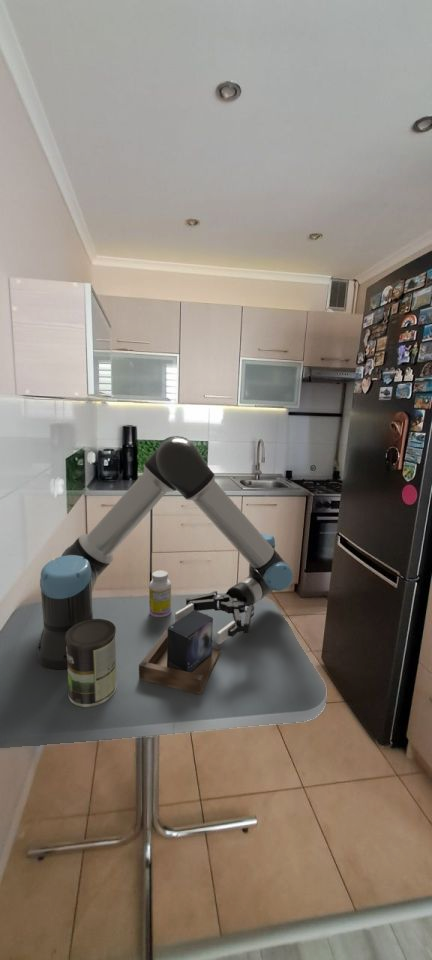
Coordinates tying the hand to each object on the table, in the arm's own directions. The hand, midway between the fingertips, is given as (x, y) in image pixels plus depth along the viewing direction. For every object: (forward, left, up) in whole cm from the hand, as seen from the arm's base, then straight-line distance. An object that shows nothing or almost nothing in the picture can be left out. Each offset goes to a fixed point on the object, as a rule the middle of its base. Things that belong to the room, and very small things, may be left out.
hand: (195, 628), depth 90 cm
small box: (-1, -1, -8) cm, 9 cm away
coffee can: (-18, -16, -9) cm, 26 cm away
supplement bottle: (-18, +18, -9) cm, 27 cm away
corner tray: (-3, -2, -9) cm, 9 cm away
